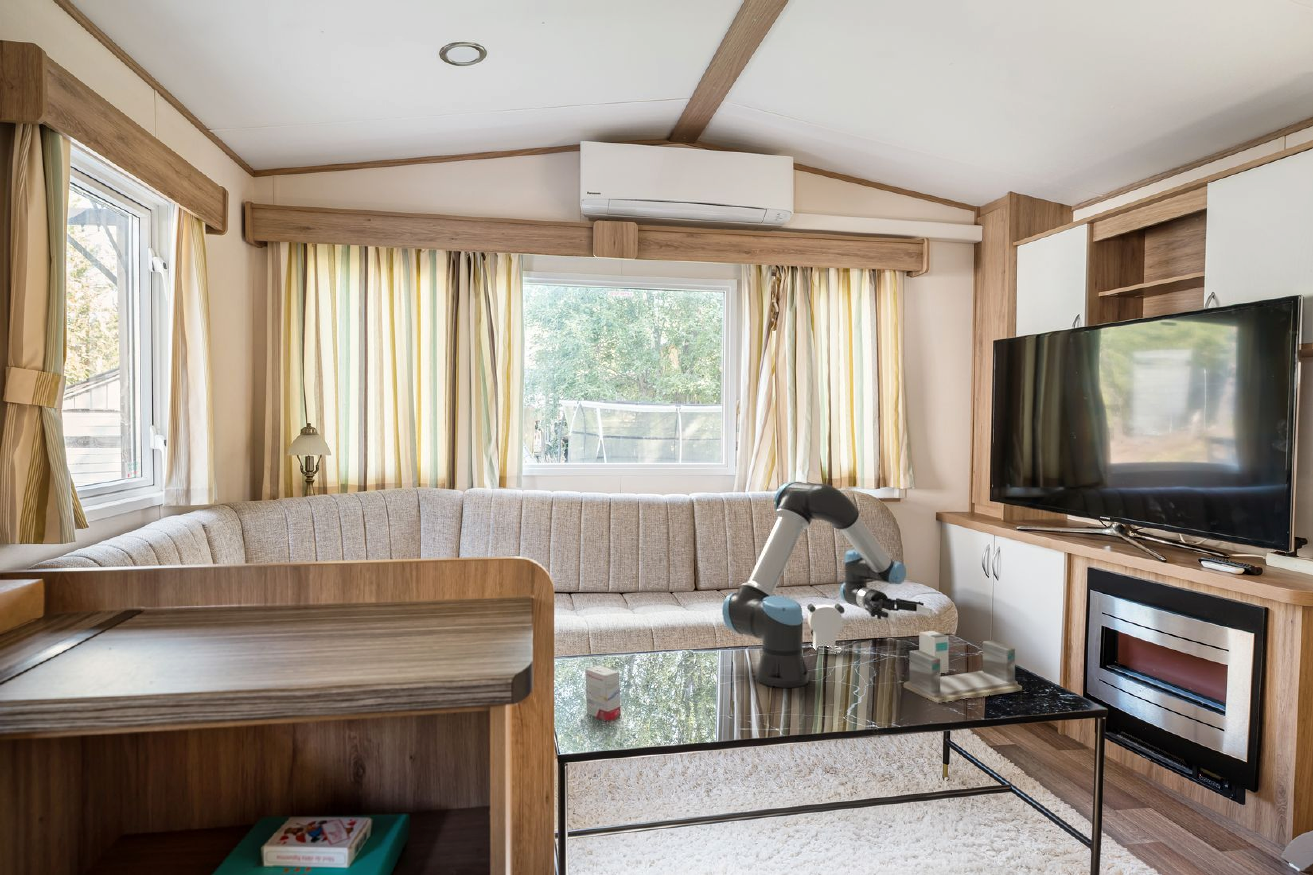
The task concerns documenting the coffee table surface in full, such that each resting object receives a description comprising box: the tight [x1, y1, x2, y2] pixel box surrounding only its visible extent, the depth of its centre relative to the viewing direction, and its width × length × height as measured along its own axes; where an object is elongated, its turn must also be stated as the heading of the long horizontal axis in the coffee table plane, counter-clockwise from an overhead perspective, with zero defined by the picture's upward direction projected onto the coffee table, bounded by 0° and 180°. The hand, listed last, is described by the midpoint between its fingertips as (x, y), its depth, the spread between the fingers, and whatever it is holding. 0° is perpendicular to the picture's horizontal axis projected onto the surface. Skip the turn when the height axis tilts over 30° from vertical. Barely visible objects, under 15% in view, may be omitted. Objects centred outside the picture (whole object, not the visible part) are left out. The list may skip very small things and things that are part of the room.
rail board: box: [903, 640, 1023, 704], centre depth 214 cm, size 29×14×11 cm, turn 110°
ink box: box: [584, 664, 622, 722], centre depth 196 cm, size 9×5×12 cm, turn 44°
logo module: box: [918, 630, 949, 675], centre depth 230 cm, size 5×7×11 cm
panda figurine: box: [806, 603, 845, 655], centre depth 252 cm, size 12×11×15 cm
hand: (913, 615), depth 239 cm, fingers open, 13 cm apart
